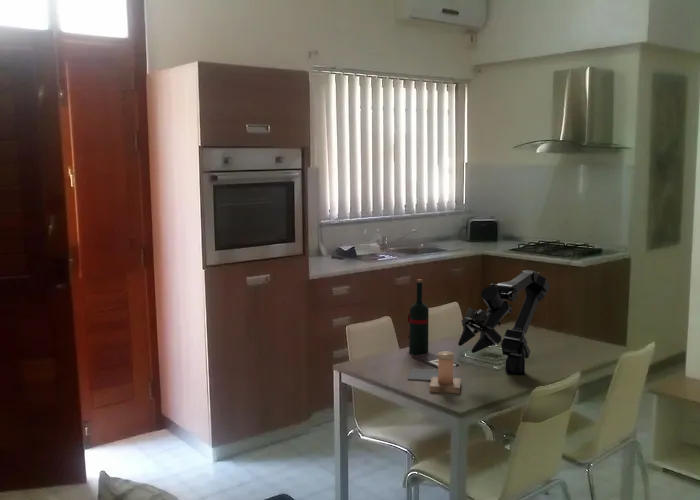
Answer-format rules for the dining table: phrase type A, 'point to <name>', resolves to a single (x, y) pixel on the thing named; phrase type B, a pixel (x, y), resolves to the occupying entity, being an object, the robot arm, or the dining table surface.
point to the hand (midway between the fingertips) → (465, 348)
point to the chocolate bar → (429, 359)
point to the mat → (422, 374)
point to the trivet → (445, 386)
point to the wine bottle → (418, 324)
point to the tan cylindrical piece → (445, 367)
